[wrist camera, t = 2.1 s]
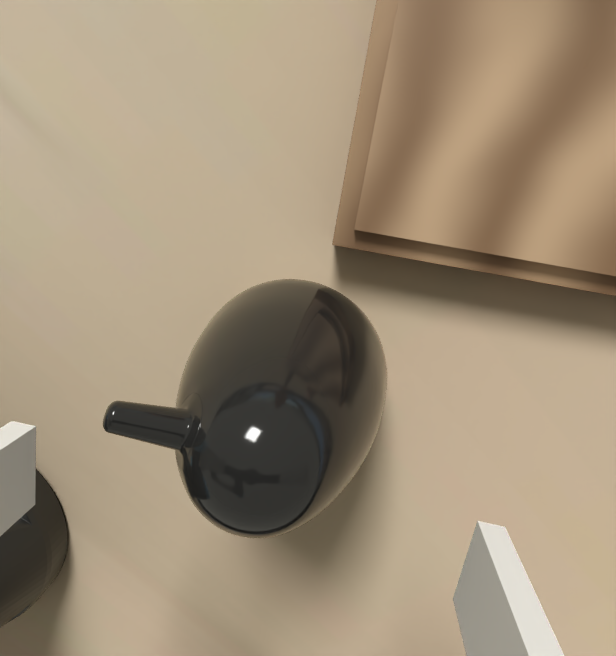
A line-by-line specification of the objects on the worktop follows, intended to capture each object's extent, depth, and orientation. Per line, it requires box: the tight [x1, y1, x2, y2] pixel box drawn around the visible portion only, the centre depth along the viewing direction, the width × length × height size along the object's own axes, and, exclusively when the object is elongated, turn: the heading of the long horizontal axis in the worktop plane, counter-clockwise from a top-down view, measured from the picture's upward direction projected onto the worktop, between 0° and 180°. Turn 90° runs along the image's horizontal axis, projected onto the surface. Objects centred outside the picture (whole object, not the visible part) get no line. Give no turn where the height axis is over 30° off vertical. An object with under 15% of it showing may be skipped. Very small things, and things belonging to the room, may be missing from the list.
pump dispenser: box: [103, 279, 387, 538], centre depth 21 cm, size 10×10×15 cm
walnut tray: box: [332, 0, 616, 296], centre depth 22 cm, size 18×18×3 cm
